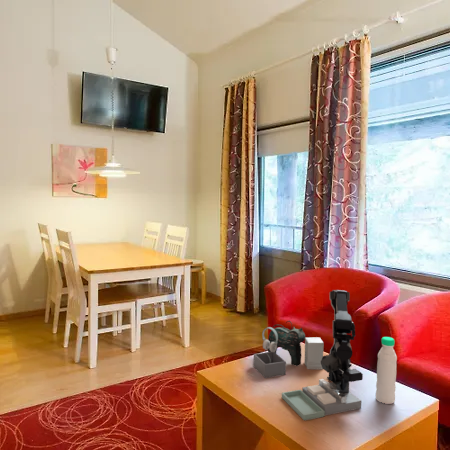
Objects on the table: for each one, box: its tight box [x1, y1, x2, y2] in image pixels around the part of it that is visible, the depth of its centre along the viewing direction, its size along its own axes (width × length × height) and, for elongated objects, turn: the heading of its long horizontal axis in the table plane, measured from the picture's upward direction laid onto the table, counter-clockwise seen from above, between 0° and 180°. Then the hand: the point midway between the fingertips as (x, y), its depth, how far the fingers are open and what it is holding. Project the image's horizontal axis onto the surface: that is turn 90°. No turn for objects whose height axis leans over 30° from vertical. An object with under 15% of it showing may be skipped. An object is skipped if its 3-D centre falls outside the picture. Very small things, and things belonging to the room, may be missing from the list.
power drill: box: [267, 320, 306, 367], centre depth 194 cm, size 20×6×20 cm, turn 43°
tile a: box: [306, 384, 325, 395], centre depth 158 cm, size 5×5×1 cm
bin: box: [281, 389, 326, 421], centre depth 153 cm, size 8×17×2 cm, turn 20°
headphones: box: [261, 326, 278, 364], centre depth 182 cm, size 8×4×20 cm, turn 46°
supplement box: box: [304, 337, 325, 370], centre depth 188 cm, size 7×7×13 cm
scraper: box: [318, 378, 350, 404], centre depth 158 cm, size 8×15×4 cm, turn 20°
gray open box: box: [253, 351, 287, 379], centre depth 183 cm, size 10×12×6 cm
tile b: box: [317, 393, 336, 404], centre depth 152 cm, size 5×5×1 cm
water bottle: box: [375, 336, 398, 405], centre depth 157 cm, size 7×7×25 cm
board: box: [301, 382, 362, 416], centre depth 157 cm, size 16×16×3 cm
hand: (340, 388), depth 158 cm, fingers closed on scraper, 2 cm apart
